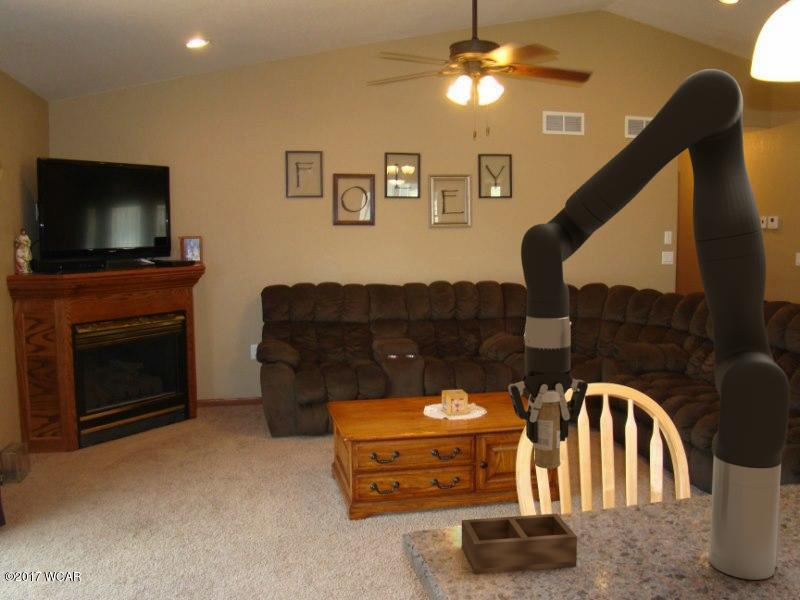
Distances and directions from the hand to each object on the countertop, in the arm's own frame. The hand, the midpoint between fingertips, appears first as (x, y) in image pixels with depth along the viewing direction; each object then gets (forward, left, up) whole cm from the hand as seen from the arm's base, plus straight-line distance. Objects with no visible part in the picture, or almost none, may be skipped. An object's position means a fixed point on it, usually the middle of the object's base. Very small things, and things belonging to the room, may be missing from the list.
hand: (547, 440), depth 121 cm
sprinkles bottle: (0, 0, -4) cm, 4 cm away
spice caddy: (+11, +6, -16) cm, 20 cm away
